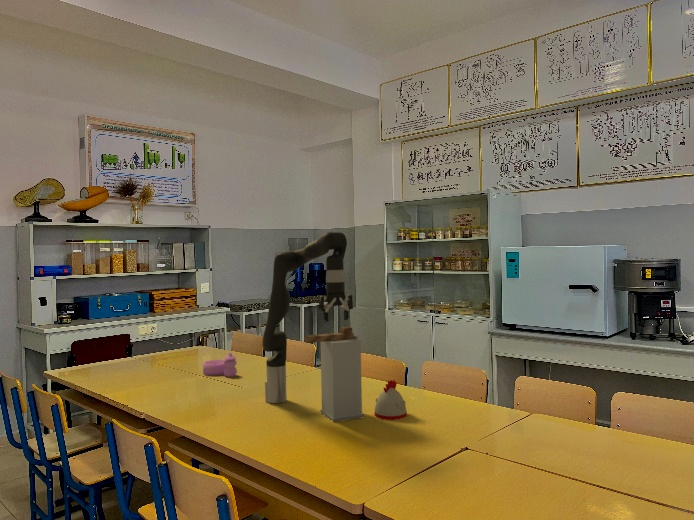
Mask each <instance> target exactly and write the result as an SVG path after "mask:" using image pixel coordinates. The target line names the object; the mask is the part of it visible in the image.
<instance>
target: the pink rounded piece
mask: <svg viewBox="0 0 694 520" xmlns="http://www.w3.org/2000/svg"><path fill="white" fill-rule="evenodd" d="M223 358H224V359H212V360H206V361H203V362H202V374H203V375H204V376H210V377H214V376H222V375H223V376H225V377H226V378H231V377H236V375H237V373H238V370H237V367H236V365H237V357H236V356H235V355H233V353H232V352H228V353H227V355H226V356H224V357H223Z"/></svg>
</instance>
